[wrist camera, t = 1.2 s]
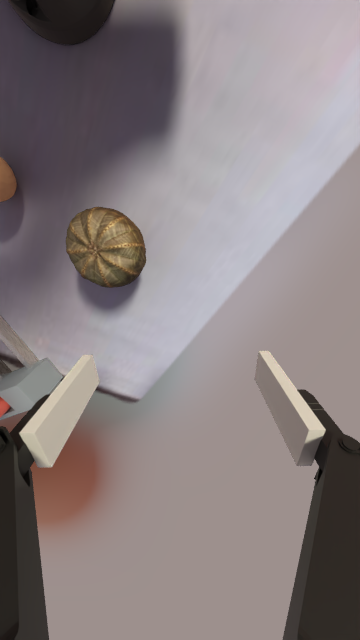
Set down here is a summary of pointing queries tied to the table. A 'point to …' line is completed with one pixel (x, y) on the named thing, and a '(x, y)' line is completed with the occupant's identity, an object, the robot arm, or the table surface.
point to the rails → (14, 349)
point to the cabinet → (28, 386)
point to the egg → (6, 181)
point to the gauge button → (3, 406)
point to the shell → (105, 247)
